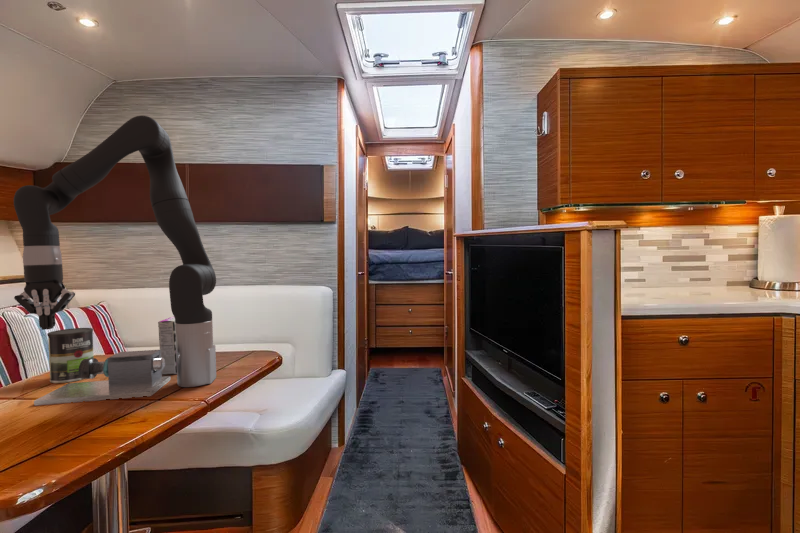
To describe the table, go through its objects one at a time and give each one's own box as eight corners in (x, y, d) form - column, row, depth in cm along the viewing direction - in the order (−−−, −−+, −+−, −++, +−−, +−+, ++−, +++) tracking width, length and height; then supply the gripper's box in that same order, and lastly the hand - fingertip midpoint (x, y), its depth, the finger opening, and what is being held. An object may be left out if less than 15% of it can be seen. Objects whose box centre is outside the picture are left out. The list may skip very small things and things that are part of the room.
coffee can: (101, 375, 117) (99, 329, 116) (57, 385, 108) (54, 335, 107) (86, 370, 122) (84, 326, 122) (44, 379, 113) (41, 332, 113)
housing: (170, 379, 111) (169, 346, 111) (150, 396, 98) (149, 358, 98) (68, 387, 106) (67, 352, 106) (34, 405, 93) (32, 365, 93)
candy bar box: (177, 364, 127) (175, 315, 126) (193, 364, 127) (191, 314, 127) (159, 375, 116) (157, 321, 115) (176, 374, 116) (174, 320, 116)
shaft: (166, 370, 107) (166, 351, 107) (158, 376, 102) (158, 356, 102) (90, 375, 104) (90, 356, 103) (78, 381, 98) (78, 361, 98)
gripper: (80, 262, 107) (84, 324, 107) (23, 264, 104) (28, 328, 104) (63, 262, 99) (67, 329, 100) (1, 264, 96) (6, 333, 97)
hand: (47, 328), depth 102 cm, fingers closed
